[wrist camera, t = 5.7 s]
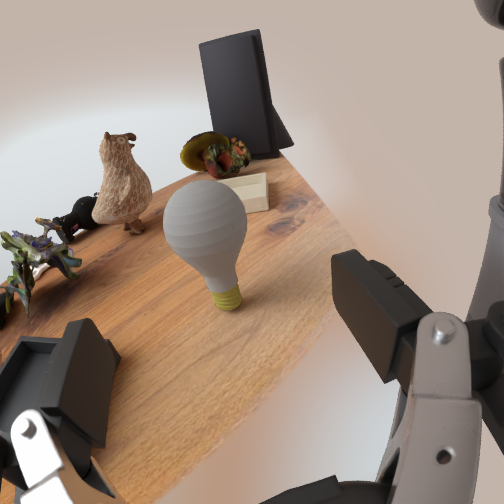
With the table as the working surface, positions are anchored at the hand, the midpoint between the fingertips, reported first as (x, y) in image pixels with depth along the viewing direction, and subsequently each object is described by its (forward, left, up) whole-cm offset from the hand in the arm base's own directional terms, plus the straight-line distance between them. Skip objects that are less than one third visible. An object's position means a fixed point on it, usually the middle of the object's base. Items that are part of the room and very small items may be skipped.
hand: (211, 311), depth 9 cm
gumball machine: (+34, -29, -6) cm, 45 cm away
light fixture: (+2, -68, -9) cm, 69 cm away
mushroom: (+8, -46, -10) cm, 48 cm away
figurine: (+19, -29, -9) cm, 36 cm away
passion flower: (+25, -14, -9) cm, 30 cm away
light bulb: (+3, -11, -9) cm, 14 cm away
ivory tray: (+5, -34, -9) cm, 36 cm away
